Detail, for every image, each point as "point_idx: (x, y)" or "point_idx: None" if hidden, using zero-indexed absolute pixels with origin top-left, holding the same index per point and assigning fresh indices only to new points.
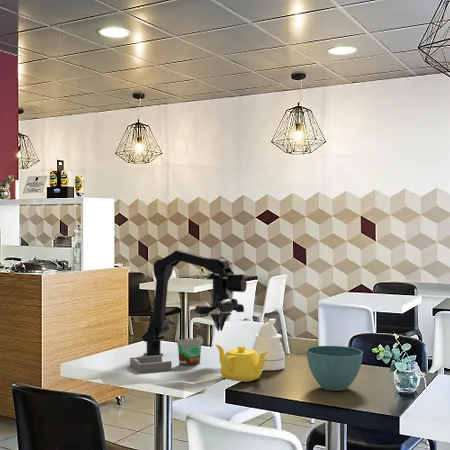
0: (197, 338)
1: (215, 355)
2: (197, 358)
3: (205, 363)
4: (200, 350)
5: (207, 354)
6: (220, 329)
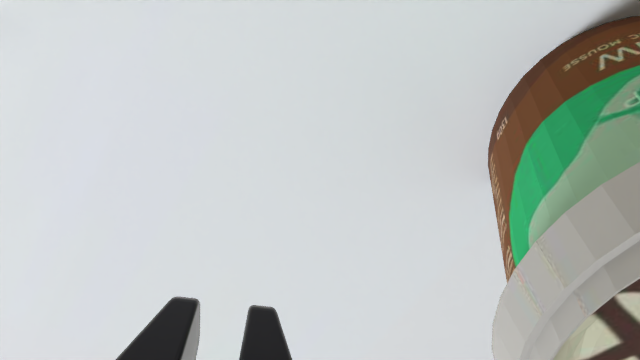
0: (594, 338)
1: (189, 264)
2: (634, 49)
3: (485, 25)
4: (588, 130)
5: (238, 318)
6: (193, 342)
